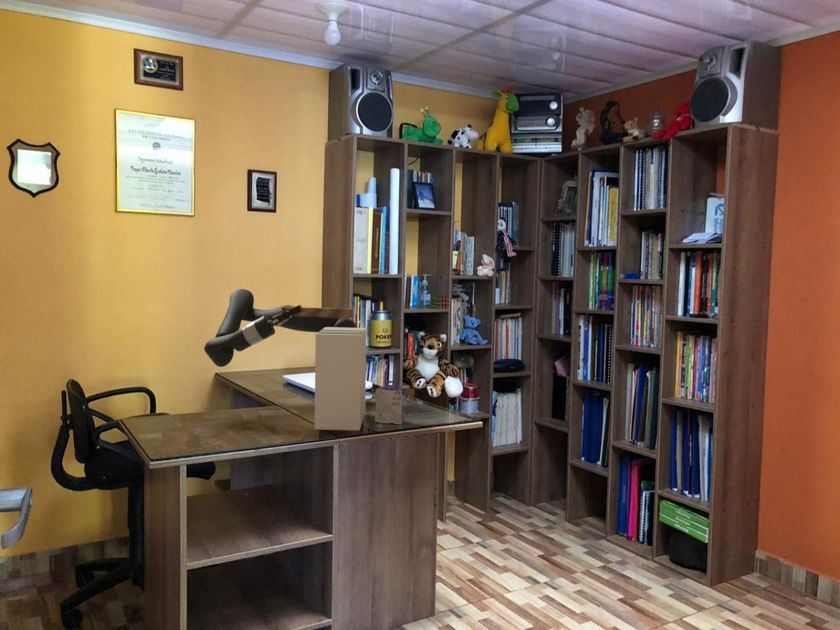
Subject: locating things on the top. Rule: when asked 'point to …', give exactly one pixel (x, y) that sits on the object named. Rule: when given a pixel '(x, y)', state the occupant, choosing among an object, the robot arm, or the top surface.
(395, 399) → the ink cartridge box
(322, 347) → the tall tan cardboard box
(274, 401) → the top surface
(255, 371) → the top surface
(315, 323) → the robot arm
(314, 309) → the walnut rod
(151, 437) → the top surface
